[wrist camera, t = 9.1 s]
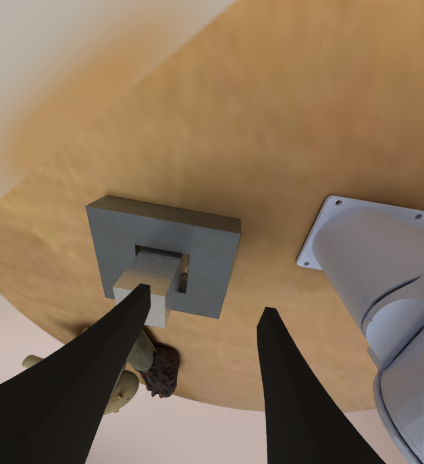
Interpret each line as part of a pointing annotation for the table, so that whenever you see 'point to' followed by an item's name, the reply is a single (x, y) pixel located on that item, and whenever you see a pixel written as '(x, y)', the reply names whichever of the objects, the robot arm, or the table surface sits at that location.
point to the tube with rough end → (155, 365)
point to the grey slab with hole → (166, 247)
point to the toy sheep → (122, 389)
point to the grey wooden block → (154, 281)
